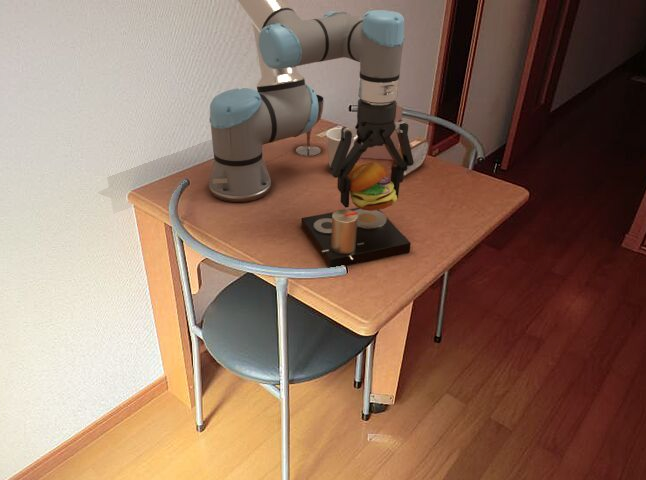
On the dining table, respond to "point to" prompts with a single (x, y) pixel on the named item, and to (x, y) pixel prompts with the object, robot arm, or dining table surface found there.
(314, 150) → the wine glass
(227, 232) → the dining table surface
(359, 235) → the stove
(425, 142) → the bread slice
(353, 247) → the stove knob
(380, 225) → the burners
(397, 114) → the greeting card
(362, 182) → the cheeseburger
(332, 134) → the dixie cup
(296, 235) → the dining table surface
